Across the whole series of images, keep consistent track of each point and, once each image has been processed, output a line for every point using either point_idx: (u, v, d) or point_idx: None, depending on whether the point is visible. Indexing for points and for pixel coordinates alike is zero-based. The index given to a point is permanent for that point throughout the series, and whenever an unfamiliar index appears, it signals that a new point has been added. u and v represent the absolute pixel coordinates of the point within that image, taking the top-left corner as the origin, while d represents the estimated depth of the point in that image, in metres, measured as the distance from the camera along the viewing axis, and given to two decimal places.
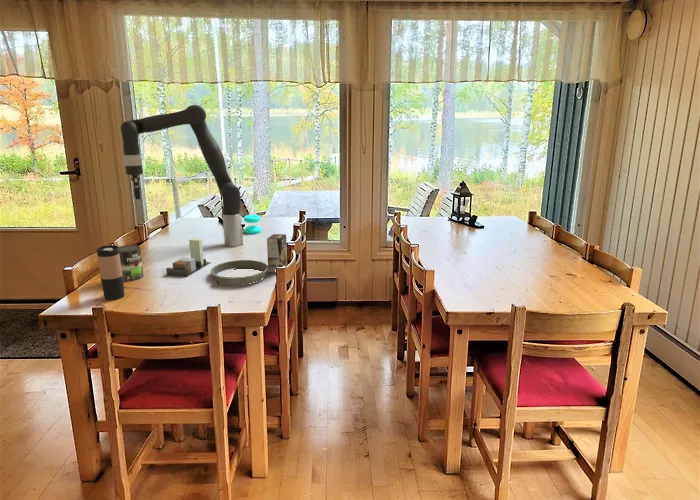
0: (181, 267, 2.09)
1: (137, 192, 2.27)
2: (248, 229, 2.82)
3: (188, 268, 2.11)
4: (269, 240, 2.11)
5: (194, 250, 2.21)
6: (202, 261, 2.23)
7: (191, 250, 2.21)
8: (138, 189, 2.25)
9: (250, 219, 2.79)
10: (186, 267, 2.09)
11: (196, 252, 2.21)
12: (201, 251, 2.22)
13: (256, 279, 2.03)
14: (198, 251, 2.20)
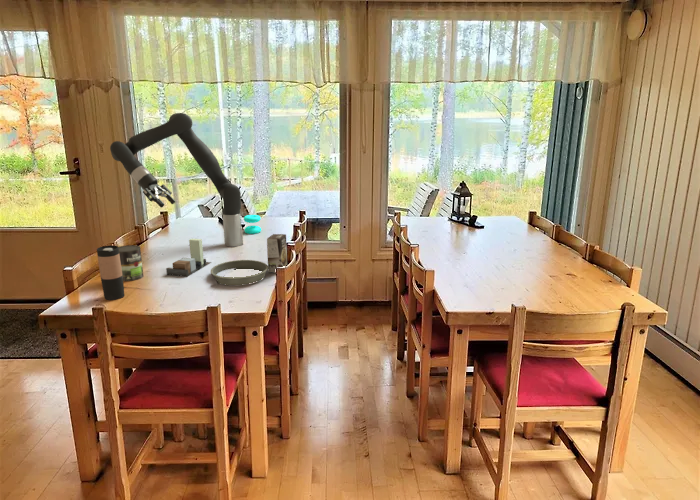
0: (181, 267, 2.09)
1: (156, 200, 2.14)
2: (248, 229, 2.82)
3: (188, 268, 2.11)
4: (269, 240, 2.11)
5: (194, 250, 2.21)
6: (202, 261, 2.23)
7: (191, 250, 2.21)
8: (152, 198, 2.12)
9: (250, 219, 2.79)
10: (186, 267, 2.09)
11: (196, 252, 2.21)
12: (201, 251, 2.22)
13: (256, 279, 2.03)
14: (198, 251, 2.20)
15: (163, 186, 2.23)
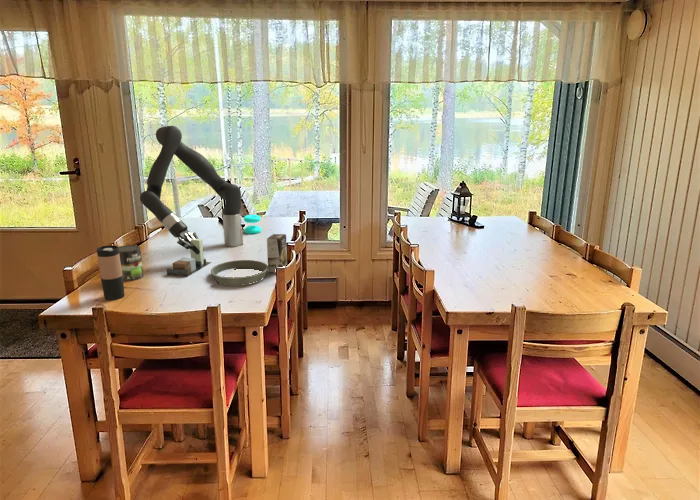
0: (181, 267, 2.09)
1: (192, 248, 2.19)
2: (248, 229, 2.82)
3: (188, 268, 2.11)
4: (269, 240, 2.11)
5: None
6: (202, 261, 2.23)
7: (191, 250, 2.21)
8: (188, 246, 2.17)
9: (250, 219, 2.79)
10: (186, 267, 2.09)
11: None
12: (201, 251, 2.22)
13: (256, 279, 2.03)
14: None
15: (194, 234, 2.26)
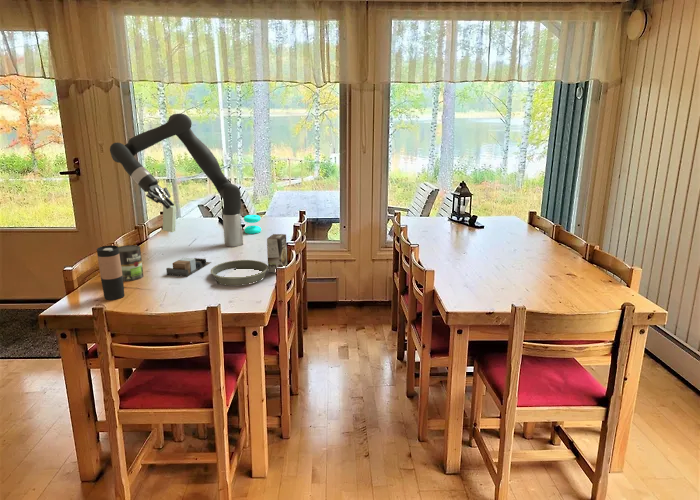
0: (181, 267, 2.09)
1: (162, 202, 2.16)
2: (248, 229, 2.82)
3: (188, 268, 2.11)
4: (269, 240, 2.11)
5: (167, 216, 2.19)
6: (174, 228, 2.22)
7: (164, 216, 2.20)
8: (158, 199, 2.14)
9: (250, 219, 2.79)
10: (186, 267, 2.09)
11: (169, 218, 2.19)
12: (174, 218, 2.20)
13: (256, 279, 2.03)
14: (171, 217, 2.19)
15: (165, 189, 2.23)
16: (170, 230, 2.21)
